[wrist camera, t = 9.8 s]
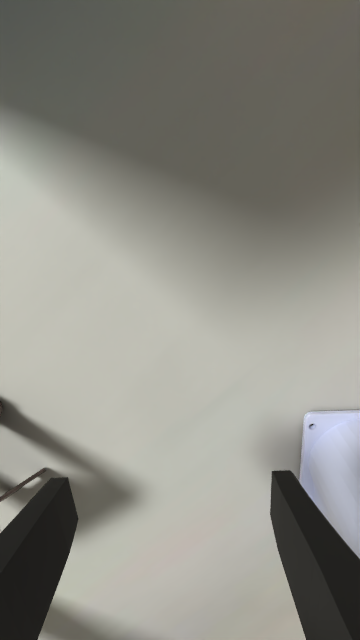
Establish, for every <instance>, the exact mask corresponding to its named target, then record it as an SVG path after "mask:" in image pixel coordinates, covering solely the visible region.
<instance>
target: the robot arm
mask: <svg viewBox="0 0 360 640" xmlns="http://www.w3.org/2000/svg"><path fill="white" fill-rule="evenodd" d="M310 424H314V425H312V426H309V425H310ZM270 515H271V520H272V525H273V529H274V534H275V538H276V543H277V547H278V551H279V554H280V558H281V561H282V564H283V567H284V571H285V574H286V577H287V580H288V583H289V586H290V590H291V593H292V596H293V599H294V602H295V605H296V609H297V612H298V615H299V618H300V621H301V624H302V628H303V631H304V634H305V637H306V640H360V410H344V411H312V412H308V413H306V415H305V416H304V424H303V438H302V451H301V465H300V478H299V481H298V480H297V478H296V477H295V475H294V474H293V473H292V472H291V471H290V470H288V471H272V483H271V509H270ZM77 522H78V516H77V512H76V508H75V504H74V500H73V496H72V493H71V489H70V485H69V481H68V477H67V478H51V479H50V480H49V481H48V482H47V483H46V484H45V485H44V486H43V487H42V488H41V489H40V490H39V492H38V493H37V494H36V495H35V496H34V497H33V498H32V499H31V500H30V502H29V503H28V504H27V505H26V506H25V507H24V508H23V509H22V510H21V511H20V513H19V514H18V515H17V516H16V517H15V518H14V519H13V520H12V521H11V522H10V523H9V524H8V526H7V527H6V528H5V529H4V530H3V531H2V532H1V533H0V640H37V639H38V636H39V634H40V631H41V628H42V626H43V623H44V620H45V618H46V615H47V612H48V610H49V607H50V604H51V602H52V599H53V596H54V594H55V591H56V588H57V586H58V583H59V580H60V578H61V575H62V572H63V569H64V567H65V564H66V561H67V558H68V556H69V553H70V549H71V545H72V542H73V538H74V534H75V530H76V526H77Z"/></svg>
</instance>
